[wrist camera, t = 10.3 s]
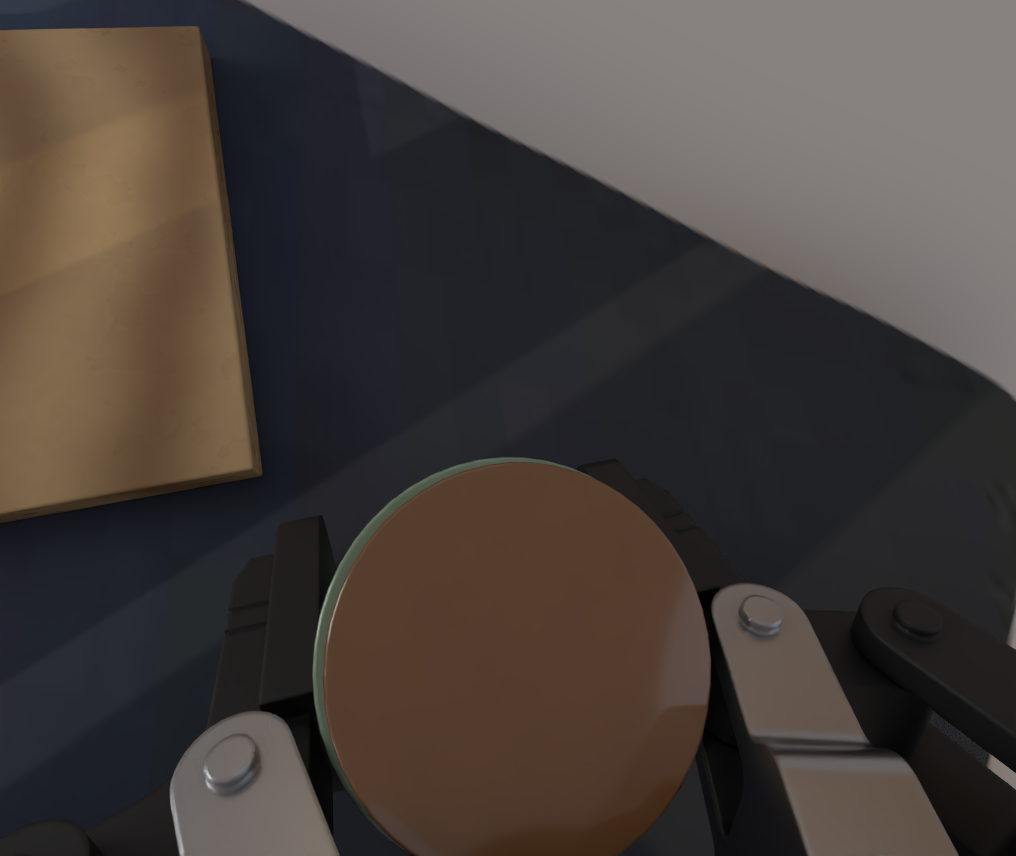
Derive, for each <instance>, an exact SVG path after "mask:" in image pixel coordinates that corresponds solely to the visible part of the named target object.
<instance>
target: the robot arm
mask: <svg viewBox="0 0 1016 856" xmlns="http://www.w3.org/2000/svg"><path fill="white" fill-rule="evenodd" d="M577 470H578V471H580V472H582V473H585V474H587V475H589V476H591V477H593V478H595V479H596V480H599V481H601V482H602V483H604V484H606V485H607V486H609V487H611V488H613V489H614V490H616V491H618V492H619V493H621V494H622V495H623V496H625V497H626V498H627V499H629V500H630V501H631V502H633V503H634V504H635V505H637V506H638V507H639V508H640V509H641V510H642V511H643V512H644V513H645V514H646V515H647V516H648V517H649V518H650V519H651V520H652V521H653V522H654V523H655V524H656V525H657V526H658V527H659V529H660V530H661V531H662V532H663V534H664V535H665V536H666V537H667V539H668V540H669V541H670V542H671V544H672V545H673V547H674V549H675V550H676V552H677V553H678V555H679V556H680V558H681V560H682V561H683V563H684V565H685V567H686V569H687V571H688V573H689V575H690V577H691V579H692V582H693V584H694V586H695V589H696V592H697V595H698V597H699V600H700V603H701V606H702V609H703V614H704V618H705V622H706V627H707V631H708V638H709V647H710V655H711V689H710V698H709V706H708V714H707V718H706V722H705V726H704V731H703V735H702V739H701V742H700V744H699V747H698V750H697V753H696V755H695V758H696V763H697V768H698V772H699V777H700V781H701V786H702V791H703V795H704V800H705V804H706V809H707V814H708V818H709V823H710V827H711V832H712V837H713V842H714V849H715V856H1016V790H1015V789H1014V788H1013V787H1012V786H1010V785H1009V784H1008V783H1006V782H1005V781H1004V780H1002V779H1001V778H1000V777H999V776H997V775H996V774H995V773H993V772H992V771H991V770H990V769H988V768H987V767H986V766H984V765H983V764H982V763H981V762H979V761H978V760H977V759H975V758H974V757H973V756H972V755H970V754H969V753H968V752H966V751H965V750H964V749H962V748H961V747H960V746H959V745H957V744H956V743H955V742H953V741H952V740H951V739H950V738H948V737H947V736H946V735H944V734H943V733H942V732H941V731H939V730H938V729H937V728H935V727H934V726H933V725H932V724H930V722H931V721H932V719H933V717H934V716H935V714H936V713H937V714H938V715H940V716H941V717H942V718H944V719H945V720H946V721H948V722H949V723H950V724H952V725H953V726H954V727H956V728H957V729H958V730H960V731H961V732H962V733H964V734H965V735H966V736H967V737H969V738H970V739H971V740H973V741H974V742H975V743H977V744H978V745H979V746H981V747H982V748H983V749H985V750H986V751H987V752H989V753H990V754H991V755H993V756H994V757H995V758H997V759H998V760H999V761H1001V762H1002V763H1003V764H1005V765H1006V766H1007V767H1009V768H1010V769H1011V770H1013V771H1014V772H1015V773H1016V650H1015V649H1014V648H1012V647H1011V646H1009V645H1007V644H1006V643H1004V642H1002V641H1001V640H999V639H998V638H996V637H994V636H993V635H991V634H989V633H988V632H986V631H985V630H983V629H981V628H980V627H978V626H976V625H975V624H973V623H972V622H970V621H968V620H967V619H965V618H963V617H962V616H960V615H959V614H957V613H955V612H954V611H952V610H950V609H949V608H947V607H946V606H944V605H942V604H941V603H939V602H937V601H935V600H934V599H932V598H929V597H927V596H925V595H923V594H920V593H917V592H914V591H911V590H907V589H902V588H895V587H885V588H878V589H874V590H872V591H870V592H868V593H867V594H866V595H865V596H864V598H863V599H862V601H861V604H860V606H859V609H858V611H857V612H845V611H815V610H802V609H801V608H800V607H799V606H798V605H797V604H796V603H795V602H794V601H793V600H791V599H790V598H788V597H787V596H786V595H784V594H782V593H780V592H779V591H776V590H774V589H772V588H769V587H766V586H763V585H758V584H753V583H747V582H746V581H745V579H744V578H743V577H742V576H741V575H740V574H739V573H738V571H737V570H736V569H735V568H734V567H733V566H732V565H731V563H730V562H729V561H728V560H727V559H726V558H725V557H724V555H723V554H722V553H721V552H720V551H719V550H718V549H717V547H716V546H715V545H714V544H713V543H712V542H711V541H710V540H709V538H708V537H707V536H706V535H705V534H704V533H703V532H702V530H701V529H700V528H699V527H696V525H695V522H694V521H693V520H692V519H691V518H690V517H689V516H688V514H687V513H684V512H683V509H682V508H681V506H680V505H679V504H678V503H677V502H676V501H675V500H674V498H673V497H672V496H671V495H670V494H669V493H668V492H667V491H666V490H664V489H662V488H660V487H659V486H657V485H655V484H653V483H652V482H650V481H648V480H647V479H640V480H635V481H634V480H633V478H632V477H631V476H630V475H629V474H628V472H627V471H626V470H625V469H624V467H623V466H622V465H621V464H620V463H619V462H618V461H617V460H616V459H611V460H606V461H600V462H595V463H590V464H585V465H580V466H578V467H577ZM336 570H337V569H336V565H335V561H334V557H333V553H332V549H331V545H330V542H329V538H328V534H327V530H326V526H325V522H324V519H323V517H322V516H321V515H320V516H315V517H310V518H304V519H299V520H294V521H289V522H284V523H279V524H278V526H277V532H276V541H275V551H274V554H272V555H267V556H262V557H257V558H253V559H250V560H249V561H248V563H247V564H246V566H245V567H244V569H243V570H242V571H241V573H240V574H239V576H238V577H237V579H236V580H235V582H234V583H233V587H232V592H231V598H230V603H229V609H228V610H229V614H227V620H226V625H225V636H224V637H223V642H222V647H221V653H220V658H219V664H218V669H217V675H216V680H215V685H214V691H213V696H212V702H211V707H210V713H209V718H208V723H207V726H206V730H205V732H204V733H203V734H201V735H200V736H199V737H198V738H197V739H196V740H195V741H194V742H193V743H192V744H191V746H190V747H189V748H188V749H187V750H186V752H185V753H184V755H183V756H182V758H181V759H180V761H179V763H178V765H177V767H176V769H175V771H174V774H173V777H171V778H170V779H169V780H168V781H167V782H166V783H164V784H163V785H162V786H160V787H159V788H158V789H157V790H155V791H153V792H152V793H150V794H149V795H147V796H146V797H144V798H142V799H141V800H139V801H137V802H135V803H134V804H132V805H130V806H128V807H127V808H125V809H123V810H121V811H120V812H118V813H116V814H114V815H113V816H111V817H109V818H107V819H106V820H104V821H102V822H100V823H99V824H97V825H95V826H94V827H92V828H90V829H88V830H87V831H84V830H83V829H82V828H81V827H80V826H79V825H77V824H76V823H74V822H72V821H69V820H65V819H49V820H42V821H39V822H35V823H32V824H29V825H27V826H24V827H22V828H20V829H17V830H16V831H14V832H12V833H10V834H8V835H7V836H5V837H3V838H2V839H0V856H340V854H339V851H338V849H337V846H336V844H335V841H334V839H333V792H336V791H340V790H343V789H344V788H343V786H342V784H341V782H340V780H339V778H338V776H337V774H336V772H335V770H334V768H333V766H332V764H331V762H330V760H329V757H328V754H327V751H326V749H325V746H324V743H323V740H322V737H321V734H320V730H319V725H318V720H317V715H316V710H315V705H314V695H313V679H312V666H313V650H314V641H315V635H316V630H317V625H318V620H319V615H320V612H321V609H322V606H323V602H324V599H325V596H326V593H327V590H328V587H329V585H330V583H331V581H332V579H333V577H334V575H335V572H336Z"/></svg>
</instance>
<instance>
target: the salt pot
mask: <svg viewBox="0 0 1016 856" xmlns="http://www.w3.org/2000/svg"><path fill="white" fill-rule="evenodd" d="M312 679H313V695H314V705H315V710H316V715H317V720H318V725H319V730H320V734H321V737H322V740H323V743H324V746H325V749H326V751H327V754H328V757H329V760H330V762H331V764H332V766H333V768H334V770H335V772H336V774H337V776H338V778H339V780H340V782H341V784H342V786H343V788H344V789H345V791H346V792H347V793H348V795H349V796H350V798H351V799H352V801H353V802H354V804H355V805H356V806H357V808H358V809H359V811H360V812H361V813H362V814H363V815H364V816H365V817H366V818H367V819H368V820H369V821H370V823H371V824H372V825H373V826H374V827H375V828H376V829H377V830H378V831H379V832H380V833H381V834H382V835H384V836H385V837H386V838H388V839H389V840H390V841H391V842H393V843H394V844H395V845H396V846H398V847H399V848H400V849H402V850H403V851H405V852H406V853H408V854H410V855H412V856H617V855H619V854H620V853H622V852H623V851H625V850H626V849H627V848H629V847H630V846H631V845H632V844H633V843H634V842H635V841H637V840H638V839H639V838H640V837H641V836H642V835H644V834H645V833H646V832H647V831H648V830H649V829H650V827H651V826H652V825H653V824H654V823H655V822H656V821H657V819H658V818H659V817H660V816H661V815H662V814H663V813H664V812H665V810H666V809H667V807H668V806H669V804H670V803H671V801H672V800H673V798H674V797H675V795H676V794H677V792H678V791H679V789H680V788H681V786H682V784H683V782H684V780H685V778H686V776H687V774H688V772H689V770H690V768H691V766H692V764H693V761H694V758H695V755H696V753H697V750H698V747H699V744H700V742H701V739H702V735H703V731H704V726H705V722H706V718H707V714H708V706H709V698H710V689H711V655H710V647H709V638H708V631H707V627H706V622H705V618H704V614H703V609H702V606H701V603H700V600H699V597H698V595H697V592H696V589H695V586H694V584H693V582H692V579H691V577H690V575H689V573H688V571H687V569H686V567H685V565H684V563H683V561H682V560H681V558H680V556H679V555H678V553H677V552H676V550H675V549H674V547H673V545H672V544H671V542H670V541H669V540H668V539H667V537H666V536H665V535H664V534H663V532H662V531H661V530H660V529H659V527H658V526H657V525H656V524H655V523H654V522H653V521H652V520H651V519H650V518H649V517H648V516H647V515H646V514H645V513H644V512H643V511H642V510H641V509H640V508H639V507H638V506H637V505H635V504H634V503H633V502H631V501H630V500H629V499H627V498H626V497H625V496H623V495H622V494H621V493H619V492H618V491H616V490H614V489H613V488H611V487H609V486H607V485H606V484H604V483H602V482H601V481H599V480H596V479H595V478H593V477H591V476H589V475H587V474H585V473H582V472H580V471H578V470H575V469H573V468H570V467H568V466H564V465H561V464H557V463H553V462H550V461H546V460H539V459H532V458H525V457H497V458H488V459H480V460H475V461H471V462H467V463H463V464H459V465H455V466H452V467H450V468H447V469H445V470H442V471H440V472H437V473H434V474H432V475H430V476H428V477H427V478H425V479H423V480H421V481H419V482H418V483H416V484H414V485H412V486H410V487H409V488H408V489H406V490H405V491H404V492H402V493H401V494H399V495H398V496H397V497H395V498H394V499H393V500H391V501H390V502H389V503H388V504H387V505H386V506H385V507H384V508H383V509H382V510H380V511H379V512H378V513H377V514H376V515H375V516H374V517H373V518H372V519H371V520H370V521H369V523H368V524H367V525H366V526H365V528H364V529H363V530H362V531H361V532H360V534H359V535H358V536H357V537H356V539H355V540H354V541H353V543H352V544H351V546H350V548H349V549H348V551H347V552H346V554H345V556H344V557H343V559H342V560H341V562H340V564H339V566H338V568H337V570H336V572H335V575H334V577H333V579H332V581H331V583H330V585H329V587H328V590H327V593H326V596H325V599H324V602H323V606H322V609H321V612H320V615H319V620H318V625H317V630H316V635H315V641H314V650H313V666H312Z"/></svg>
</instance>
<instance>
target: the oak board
mask: <svg viewBox="0 0 1016 856" xmlns="http://www.w3.org/2000/svg"><path fill="white" fill-rule="evenodd" d="M262 473H263V472H262V464H261V456H260V448H259V440H258V432H257V425H256V417H255V409H254V401H253V393H252V385H251V377H250V369H249V361H248V353H247V345H246V338H245V330H244V322H243V314H242V306H241V298H240V290H239V282H238V274H237V266H236V258H235V251H234V243H233V235H232V227H231V219H230V211H229V203H228V195H227V187H226V179H225V171H224V164H223V156H222V148H221V140H220V132H219V124H218V116H217V108H216V100H215V92H214V84H213V77H212V69H211V61H210V54H209V52H208V49H207V47H206V44H205V41H204V39H203V36H202V34H201V31H200V29H199V27H197V26H180V27H131V28H82V29H33V30H0V523H5V522H10V521H16V520H22V519H27V518H33V517H38V516H44V515H49V514H55V513H60V512H66V511H71V510H77V509H82V508H88V507H93V506H99V505H105V504H110V503H116V502H121V501H127V500H132V499H138V498H143V497H149V496H154V495H160V494H165V493H171V492H176V491H182V490H188V489H193V488H199V487H204V486H210V485H215V484H221V483H226V482H232V481H237V480H243V479H248V478H254V477H259V476H261V475H262Z"/></svg>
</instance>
